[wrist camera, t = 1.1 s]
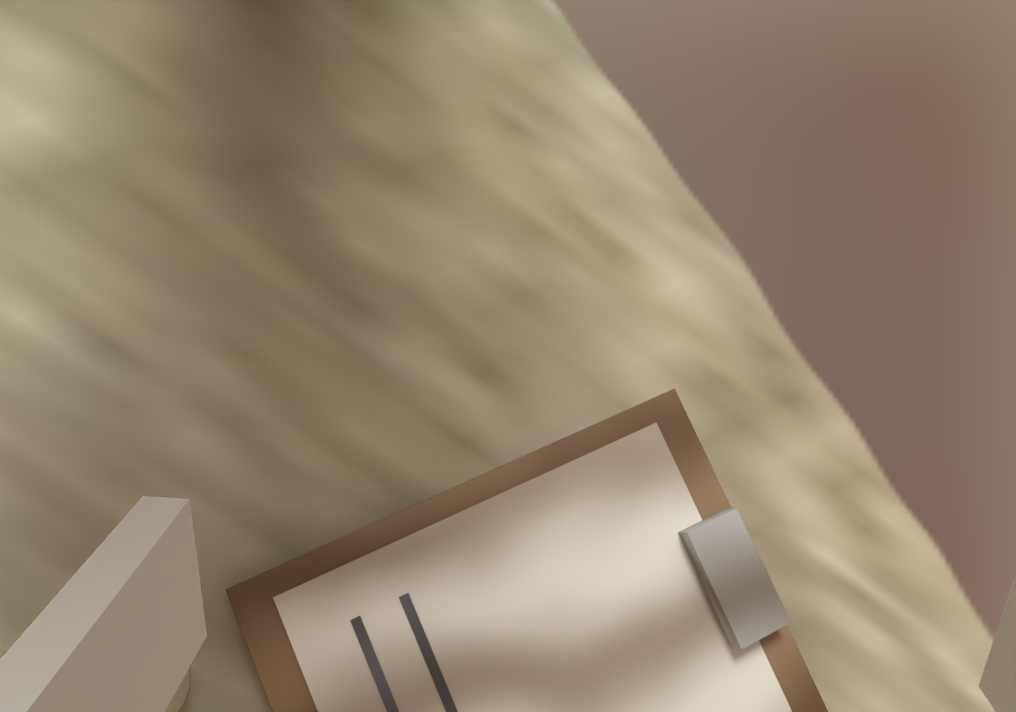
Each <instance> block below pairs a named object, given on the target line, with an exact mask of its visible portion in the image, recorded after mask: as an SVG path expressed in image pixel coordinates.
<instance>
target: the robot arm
mask: <svg viewBox="0 0 1016 712" xmlns="http://www.w3.org/2000/svg"><path fill="white" fill-rule="evenodd" d="M206 637H207V631H206V623H205V615H204V607H203V599H202V591H201V583H200V575H199V567H198V559H197V551H196V543H195V535H194V527H193V519H192V511H191V503H190V499H187V498H170V497H153V496H142V497H141V498H140V500H139V501H138V502H137V503H136V504H135V505H134V506H133V508H132V509H131V510H130V511H129V512H128V513H127V515H126V516H125V517H124V518H123V519H122V520H121V521H120V523H119V524H118V525H117V526H116V527H115V528H114V529H113V531H112V532H111V533H110V534H109V535H108V536H107V537H106V539H105V540H104V541H103V542H102V543H101V544H100V545H99V547H98V548H97V549H96V550H95V551H94V552H93V553H92V555H91V556H90V557H89V558H88V559H87V560H86V561H85V563H84V564H83V565H82V566H81V567H80V568H79V569H78V571H77V572H76V573H75V574H74V575H73V576H72V577H71V579H70V580H69V581H68V582H67V583H66V584H65V586H64V587H63V588H62V589H61V590H60V591H59V592H58V594H57V595H56V596H55V597H54V598H53V599H52V600H51V602H50V603H49V604H48V605H47V606H46V607H45V608H44V610H43V611H42V612H41V613H40V614H39V615H38V616H37V618H36V619H35V620H34V621H33V622H32V623H31V624H30V626H29V627H28V628H27V629H26V630H25V631H24V632H23V634H22V635H21V636H20V637H19V638H18V639H17V640H16V642H15V643H14V644H13V645H12V646H11V647H10V648H9V650H8V651H7V652H6V653H5V654H4V655H3V657H2V658H1V659H0V712H165V710H166V708H167V706H168V705H169V703H170V701H171V699H172V698H173V696H174V694H175V692H176V691H177V689H178V687H179V685H180V683H181V682H182V680H183V678H184V676H185V675H186V673H187V671H188V669H189V667H190V666H191V664H192V662H193V660H194V659H195V657H196V655H197V653H198V652H199V650H200V648H201V646H202V644H203V643H204V641H205V639H206ZM979 687H980V689H981V690H982V692H983V693H984V695H985V696H986V698H987V699H988V701H989V702H990V704H991V705H992V707H993V708H994V710H995V711H996V712H1016V575H1015V578H1014V581H1013V584H1012V587H1011V590H1010V593H1009V596H1008V599H1007V602H1006V605H1005V608H1004V611H1003V614H1002V617H1001V620H1000V623H999V626H998V629H997V632H996V635H995V638H994V641H993V644H992V647H991V650H990V653H989V656H988V659H987V662H986V665H985V668H984V671H983V674H982V677H981V680H980V683H979Z"/></svg>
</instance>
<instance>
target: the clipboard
mask: <svg viewBox="0 0 1016 712" xmlns="http://www.w3.org/2000/svg"><path fill="white" fill-rule="evenodd" d="M226 592H227V595H228V597H229V600H230V602H231V605H232V608H233V610H234V613H235V615H236V618H237V621H238V623H239V626H240V628H241V631H242V633H243V636H244V639H245V641H246V644H247V646H248V649H249V652H250V654H251V657H252V659H253V662H254V665H255V667H256V670H257V672H258V675H259V678H260V680H261V683H262V685H263V688H264V690H265V693H266V696H267V698H268V701H269V703H270V706H271V709H272V711H273V712H828V711H827V708H826V706H825V704H824V702H823V700H822V698H821V696H820V694H819V692H818V690H817V687H816V685H815V683H814V681H813V679H812V677H811V675H810V673H809V671H808V668H807V666H806V664H805V662H804V660H803V658H802V656H801V654H800V652H799V650H798V647H797V645H796V643H795V641H794V639H793V637H792V635H791V633H790V631H789V628H788V626H787V624H789V623H791V621H790V619H789V617H788V615H787V613H786V611H785V609H784V607H783V605H782V602H781V600H780V598H779V596H778V594H777V592H776V590H775V588H774V586H773V584H772V581H771V579H770V577H769V575H768V573H767V571H766V569H765V567H764V565H763V563H762V560H761V558H760V556H759V554H758V552H757V550H756V548H755V546H754V544H753V542H752V539H751V537H750V535H749V533H748V531H747V529H746V527H745V525H744V523H743V521H742V518H741V516H740V514H739V512H738V510H737V508H731V506H730V504H729V502H728V500H727V498H726V496H725V494H724V492H723V490H722V487H721V485H720V483H719V481H718V479H717V477H716V475H715V473H714V471H713V468H712V466H711V464H710V462H709V460H708V458H707V456H706V454H705V452H704V450H703V447H702V445H701V443H700V441H699V439H698V437H697V435H696V433H695V431H694V428H693V426H692V424H691V422H690V420H689V418H688V416H687V414H686V412H685V410H684V407H683V405H682V403H681V401H680V399H679V397H678V395H677V393H676V391H675V389H673V390H670V391H668V392H666V393H664V394H661V395H659V396H657V397H655V398H653V399H650V400H648V401H646V402H644V403H641V404H639V405H637V406H635V407H632V408H630V409H628V410H626V411H624V412H621V413H619V414H617V415H615V416H612V417H610V418H608V419H606V420H603V421H601V422H599V423H597V424H595V425H592V426H590V427H588V428H586V429H583V430H581V431H579V432H577V433H574V434H572V435H570V436H568V437H565V438H563V439H561V440H559V441H557V442H554V443H552V444H550V445H548V446H545V447H543V448H541V449H539V450H536V451H534V452H532V453H530V454H528V455H525V456H523V457H521V458H519V459H516V460H514V461H512V462H510V463H507V464H505V465H503V466H501V467H499V468H496V469H494V470H492V471H490V472H487V473H485V474H483V475H481V476H478V477H476V478H474V479H472V480H469V481H467V482H465V483H463V484H461V485H458V486H456V487H454V488H452V489H449V490H447V491H445V492H443V493H440V494H438V495H436V496H434V497H432V498H429V499H427V500H425V501H423V502H420V503H418V504H416V505H414V506H411V507H409V508H407V509H405V510H403V511H400V512H398V513H396V514H394V515H391V516H389V517H387V518H385V519H382V520H380V521H378V522H376V523H373V524H371V525H369V526H367V527H365V528H362V529H360V530H358V531H356V532H353V533H351V534H349V535H347V536H344V537H342V538H340V539H338V540H336V541H333V542H331V543H329V544H327V545H324V546H322V547H320V548H318V549H315V550H313V551H311V552H309V553H307V554H304V555H302V556H300V557H298V558H295V559H293V560H291V561H289V562H286V563H284V564H282V565H280V566H278V567H275V568H273V569H271V570H269V571H266V572H264V573H262V574H260V575H257V576H255V577H253V578H251V579H248V580H246V581H244V582H242V583H240V584H237V585H235V586H233V587H231V588H228V589H226Z"/></svg>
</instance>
